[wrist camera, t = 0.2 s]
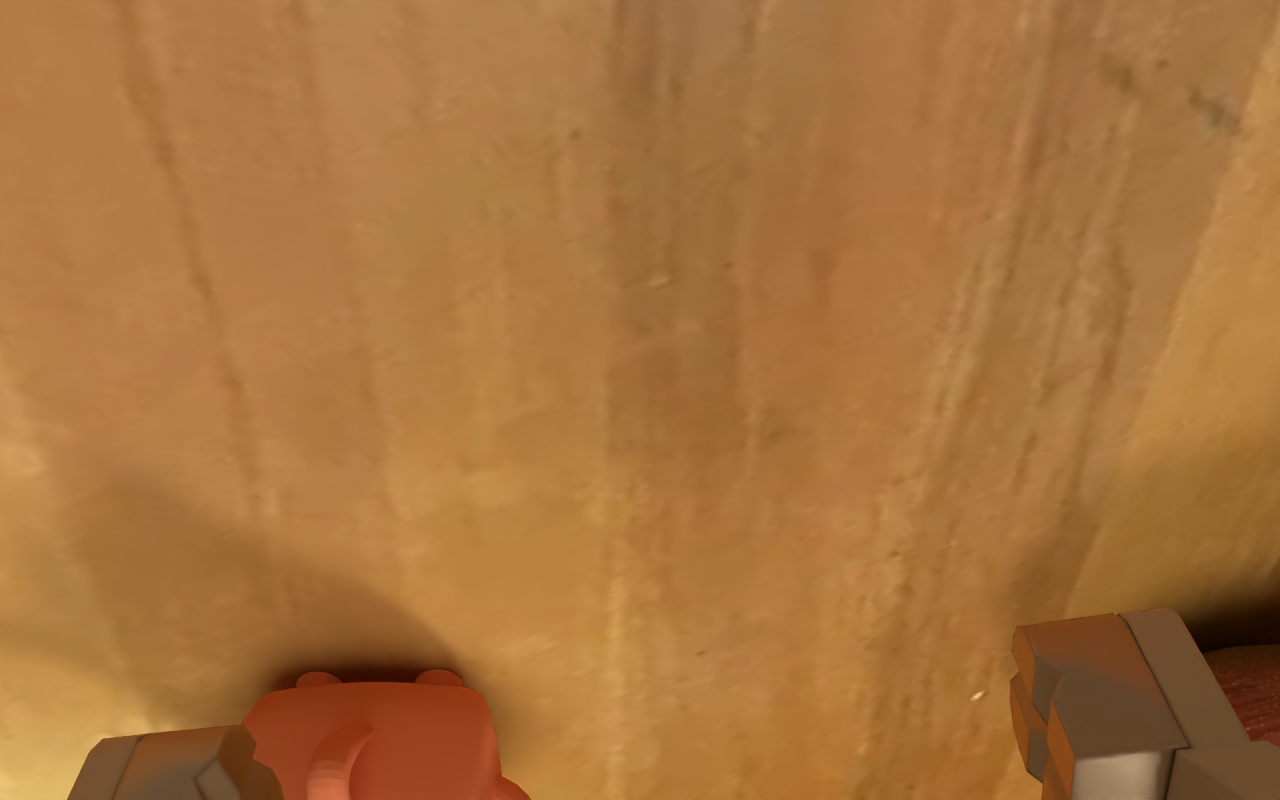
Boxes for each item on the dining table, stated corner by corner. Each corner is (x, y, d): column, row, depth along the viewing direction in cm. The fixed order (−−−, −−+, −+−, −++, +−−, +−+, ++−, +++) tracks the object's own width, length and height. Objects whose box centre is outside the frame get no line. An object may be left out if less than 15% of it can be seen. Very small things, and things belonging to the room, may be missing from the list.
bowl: (1302, 774, 52) (1403, 941, 45) (1036, 775, 51) (1100, 944, 44) (1464, 520, 42) (1622, 684, 36) (1141, 517, 42) (1242, 684, 35)
